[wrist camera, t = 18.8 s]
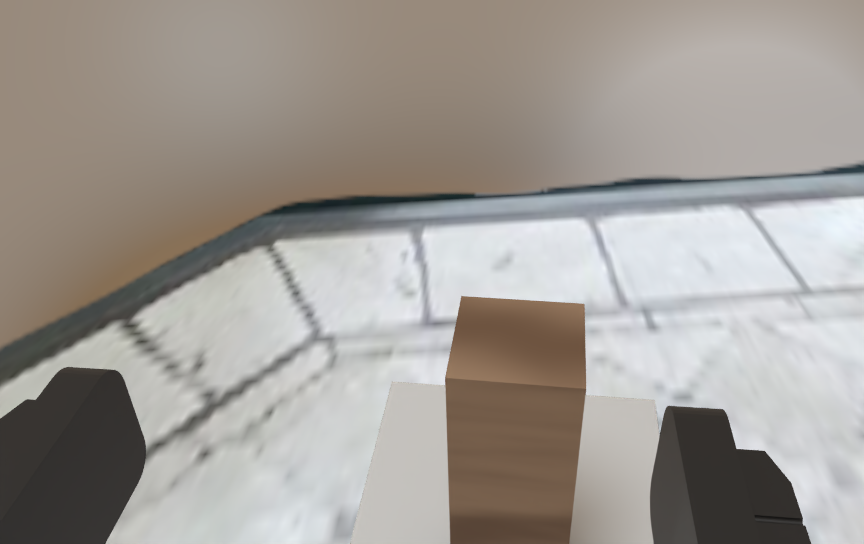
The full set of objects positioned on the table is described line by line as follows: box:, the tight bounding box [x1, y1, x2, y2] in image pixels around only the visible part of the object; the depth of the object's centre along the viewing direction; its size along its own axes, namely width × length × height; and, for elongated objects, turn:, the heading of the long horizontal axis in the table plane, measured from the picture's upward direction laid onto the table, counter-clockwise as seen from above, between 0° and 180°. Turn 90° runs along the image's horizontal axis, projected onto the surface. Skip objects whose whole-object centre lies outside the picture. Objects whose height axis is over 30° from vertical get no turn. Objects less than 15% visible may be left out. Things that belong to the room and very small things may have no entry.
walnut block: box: [445, 296, 586, 544], centre depth 33 cm, size 5×5×14 cm
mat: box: [350, 382, 660, 544], centre depth 39 cm, size 20×16×1 cm
